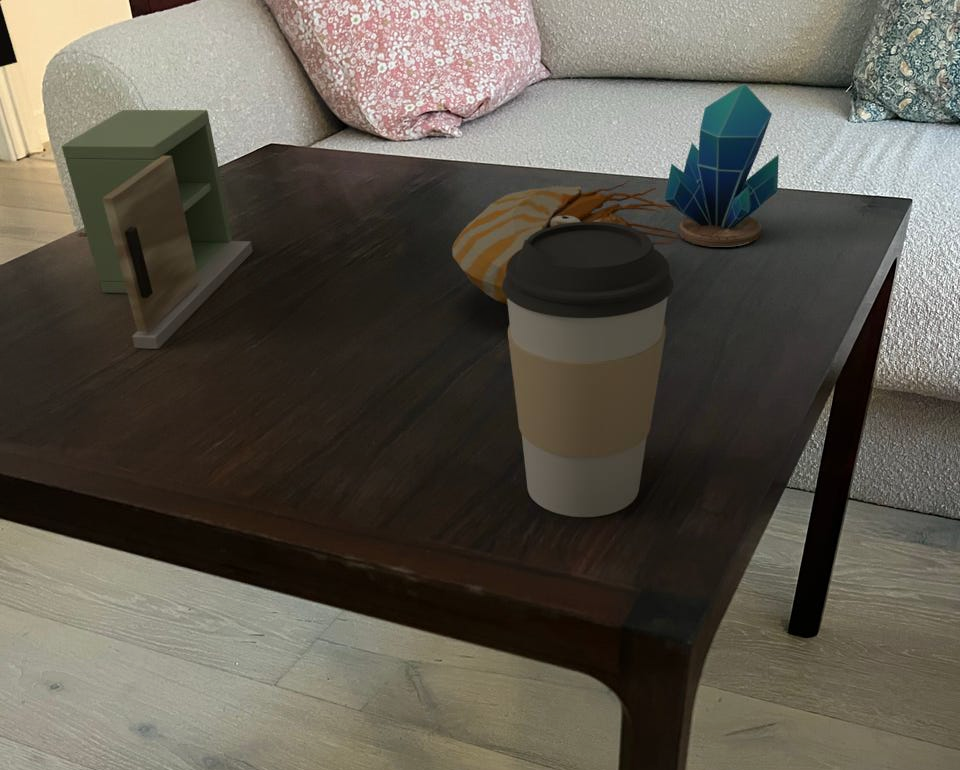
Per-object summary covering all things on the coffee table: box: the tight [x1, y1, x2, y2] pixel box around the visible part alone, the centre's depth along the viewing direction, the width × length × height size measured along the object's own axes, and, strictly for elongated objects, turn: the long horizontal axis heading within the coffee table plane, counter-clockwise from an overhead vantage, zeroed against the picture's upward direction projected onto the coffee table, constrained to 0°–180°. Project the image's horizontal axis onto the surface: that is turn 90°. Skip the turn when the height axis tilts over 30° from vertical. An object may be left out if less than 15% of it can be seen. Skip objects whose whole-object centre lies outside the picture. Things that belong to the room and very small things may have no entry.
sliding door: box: [102, 156, 199, 332], centre depth 82 cm, size 1×10×10 cm, turn 169°
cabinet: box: [61, 109, 254, 350], centre depth 87 cm, size 10×22×12 cm, turn 169°
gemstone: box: [663, 83, 780, 247], centre depth 91 cm, size 7×9×12 cm
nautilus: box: [451, 179, 682, 306], centre depth 84 cm, size 8×22×15 cm
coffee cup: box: [502, 222, 675, 518], centre depth 59 cm, size 9×9×15 cm
